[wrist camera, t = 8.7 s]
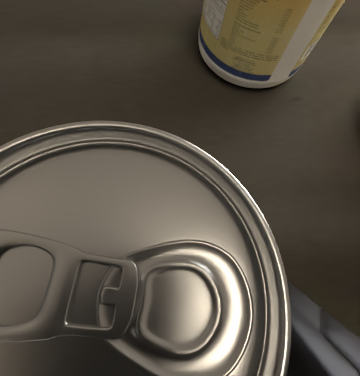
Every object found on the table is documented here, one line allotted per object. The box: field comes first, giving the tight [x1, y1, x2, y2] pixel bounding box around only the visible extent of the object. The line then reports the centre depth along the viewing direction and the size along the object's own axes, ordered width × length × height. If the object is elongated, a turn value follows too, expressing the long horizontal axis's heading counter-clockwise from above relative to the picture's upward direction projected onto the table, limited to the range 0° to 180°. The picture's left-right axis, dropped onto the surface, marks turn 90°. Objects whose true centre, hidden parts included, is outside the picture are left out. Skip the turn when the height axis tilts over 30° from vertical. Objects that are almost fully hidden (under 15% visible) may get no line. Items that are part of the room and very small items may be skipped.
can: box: [0, 121, 291, 376], centre depth 9 cm, size 6×6×12 cm
